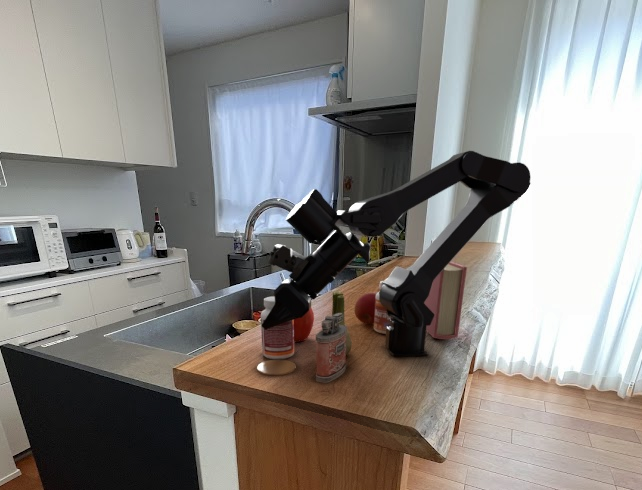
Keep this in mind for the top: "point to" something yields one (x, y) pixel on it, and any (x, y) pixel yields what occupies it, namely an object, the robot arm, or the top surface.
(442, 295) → the book
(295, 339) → the apple
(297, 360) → the top surface
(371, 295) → the apple
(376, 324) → the pill bottle
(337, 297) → the fennel bulb
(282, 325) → the pill bottle
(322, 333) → the lighter
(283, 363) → the gold disc
